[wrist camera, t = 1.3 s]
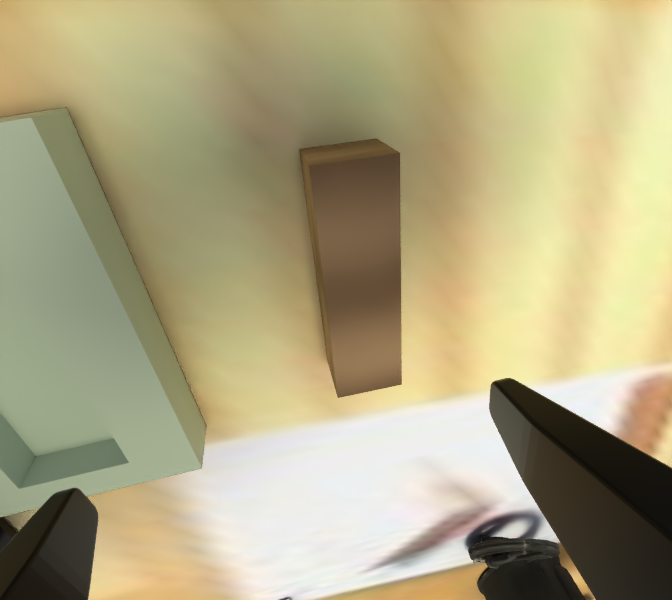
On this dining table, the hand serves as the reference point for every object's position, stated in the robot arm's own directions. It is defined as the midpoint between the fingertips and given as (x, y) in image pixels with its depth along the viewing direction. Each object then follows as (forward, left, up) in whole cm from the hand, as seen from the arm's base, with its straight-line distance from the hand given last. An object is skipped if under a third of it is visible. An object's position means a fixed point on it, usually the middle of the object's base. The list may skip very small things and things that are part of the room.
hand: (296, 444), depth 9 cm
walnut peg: (-3, -4, -13) cm, 14 cm away
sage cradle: (-3, +12, -13) cm, 18 cm away
